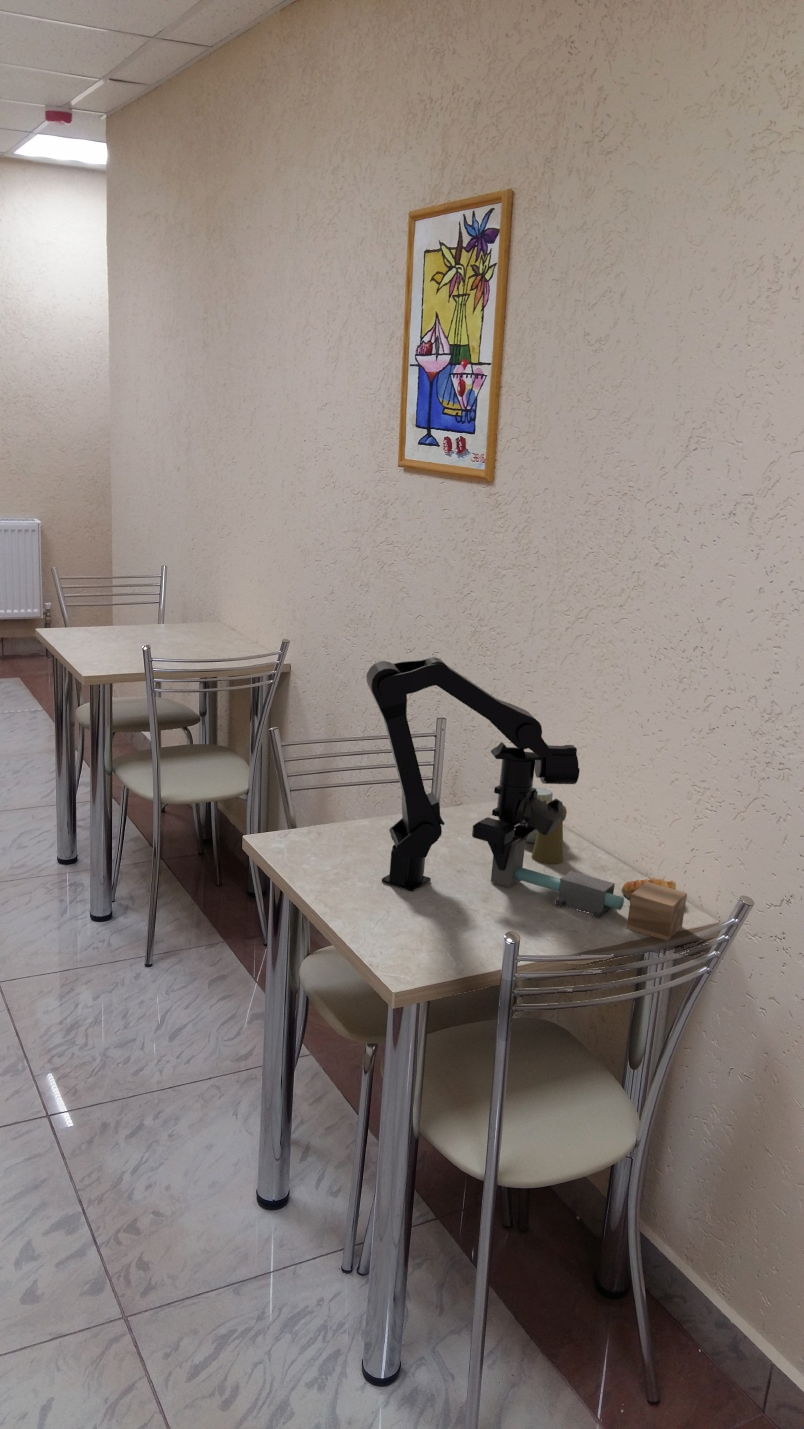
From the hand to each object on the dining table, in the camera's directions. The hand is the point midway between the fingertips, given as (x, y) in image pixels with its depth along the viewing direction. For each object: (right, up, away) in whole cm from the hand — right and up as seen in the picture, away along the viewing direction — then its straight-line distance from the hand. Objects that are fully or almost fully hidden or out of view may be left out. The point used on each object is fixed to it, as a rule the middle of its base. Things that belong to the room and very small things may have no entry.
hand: (507, 866), depth 195 cm
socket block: (+23, -8, -13) cm, 28 cm away
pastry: (+25, -6, -1) cm, 26 cm away
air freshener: (+7, +2, +24) cm, 25 cm away
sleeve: (+12, -6, -7) cm, 15 cm away
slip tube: (+8, -5, -4) cm, 10 cm away
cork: (+9, -1, +14) cm, 16 cm away
